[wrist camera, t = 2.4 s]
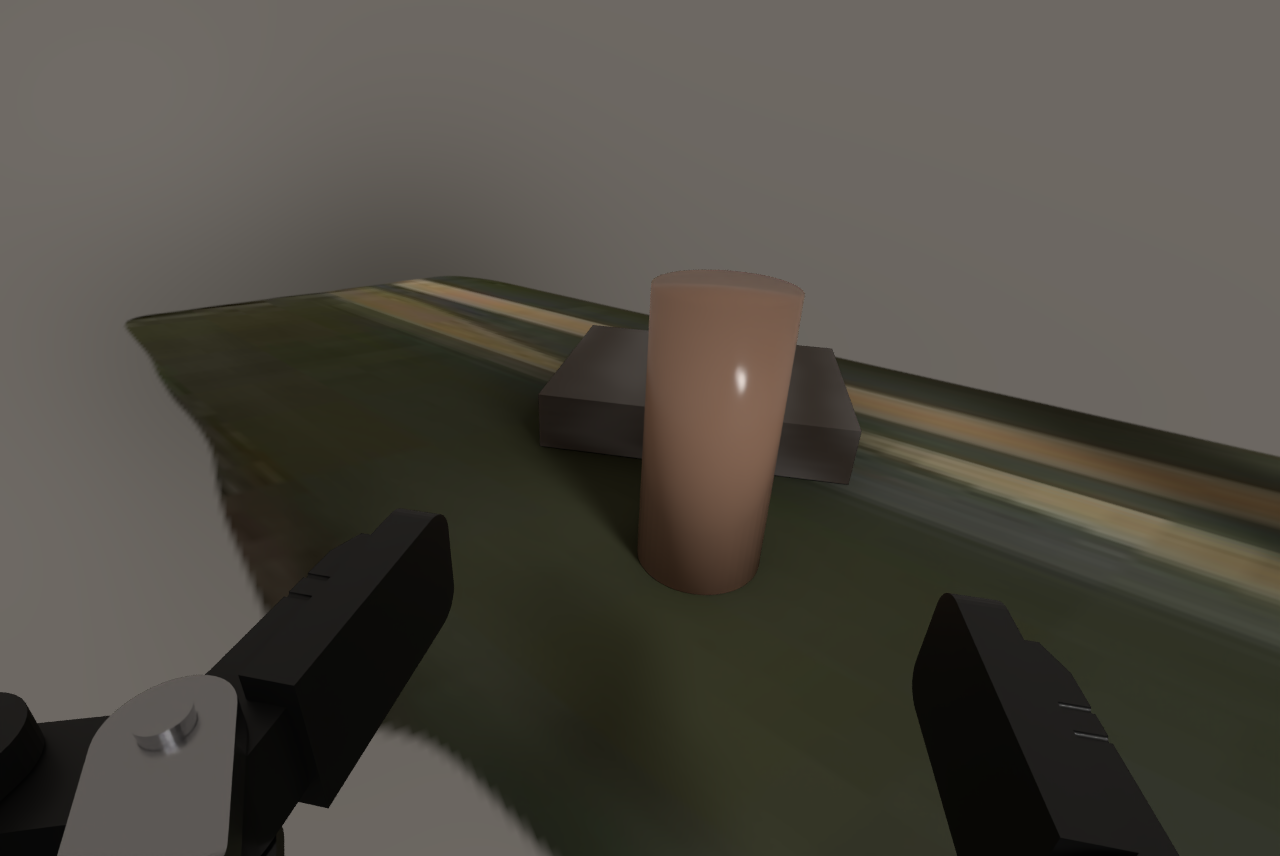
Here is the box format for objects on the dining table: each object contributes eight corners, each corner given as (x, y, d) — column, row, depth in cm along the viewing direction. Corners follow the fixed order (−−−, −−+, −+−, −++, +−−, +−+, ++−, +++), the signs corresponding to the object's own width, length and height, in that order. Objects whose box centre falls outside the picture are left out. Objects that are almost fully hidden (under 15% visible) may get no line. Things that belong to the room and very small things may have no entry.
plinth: (823, 390, 41) (832, 348, 39) (848, 484, 30) (861, 431, 29) (592, 366, 43) (592, 325, 41) (540, 445, 32) (538, 394, 31)
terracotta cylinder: (758, 524, 27) (799, 276, 22) (759, 603, 22) (811, 314, 17) (647, 510, 27) (662, 265, 22) (627, 584, 23) (639, 299, 18)
